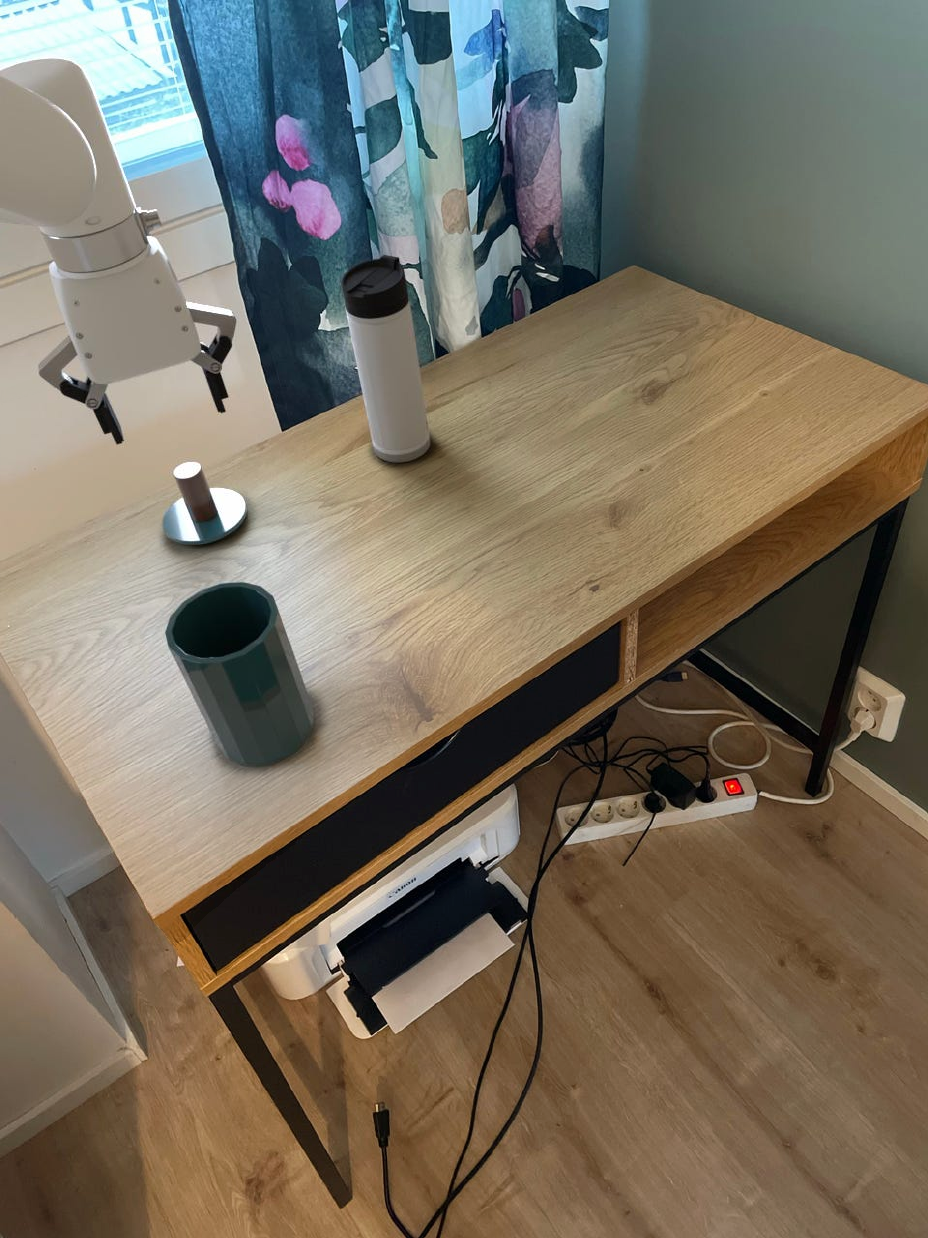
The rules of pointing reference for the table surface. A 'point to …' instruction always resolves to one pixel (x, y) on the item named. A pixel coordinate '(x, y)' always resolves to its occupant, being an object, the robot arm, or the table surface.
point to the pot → (242, 672)
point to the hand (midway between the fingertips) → (169, 420)
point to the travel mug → (387, 357)
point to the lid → (202, 509)
